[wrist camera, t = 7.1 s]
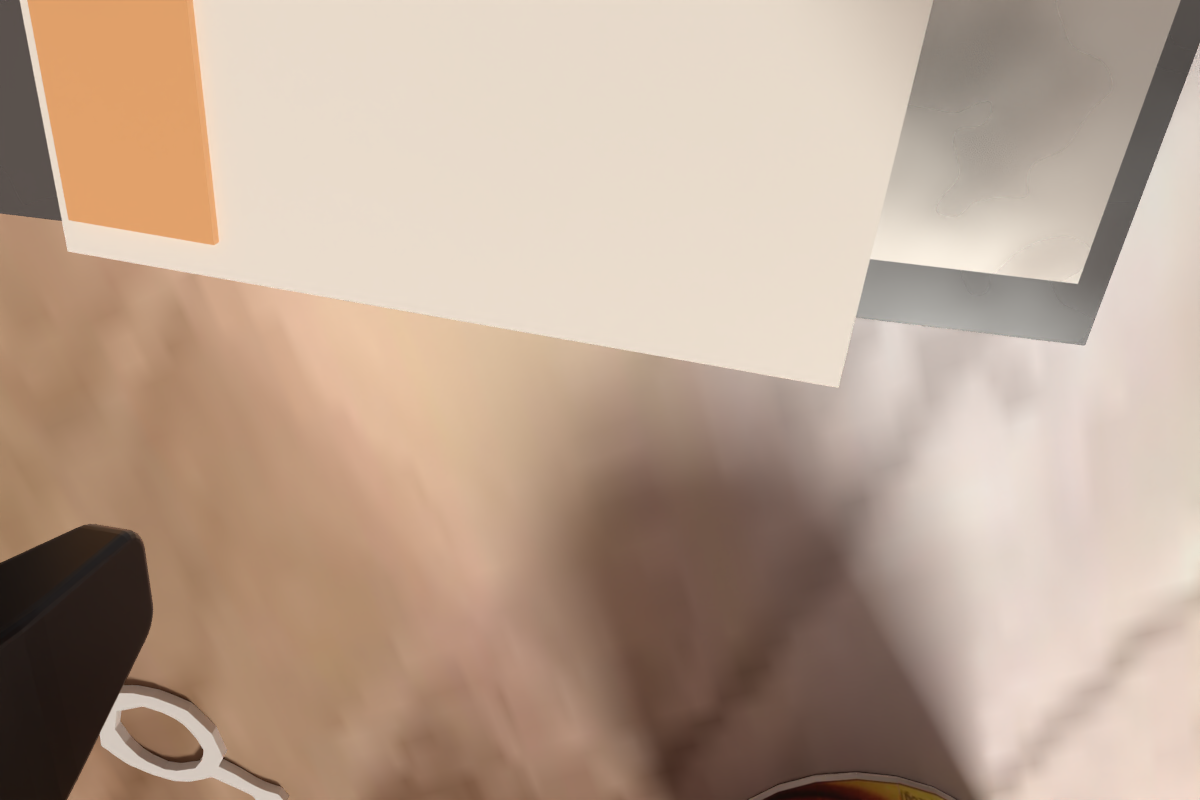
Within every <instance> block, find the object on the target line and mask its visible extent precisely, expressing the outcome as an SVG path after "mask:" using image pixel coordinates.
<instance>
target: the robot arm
mask: <svg viewBox="0 0 1200 800" xmlns="http://www.w3.org/2000/svg"><path fill="white" fill-rule="evenodd" d="M152 617H153V602H152V595H151V588H150V581H149V574H148V568H147V561H146V554H145V548H144V544H143V541H142V539H141V537H140V536H139V535H138V534H137V533H135V532H133V531H131V530H127V529H121V528H115V527H109V526H103V525H97V524H88V525H83V526H81V527H78V528H76V529H73V530H71V531H69V532H67V533H65V534H62V535H60V536H58V537H56V538H54V539H52V540H49V541H47V542H45V543H43V544H41V545H38V546H36V547H34V548H32V549H30V550H28V551H25V552H23V553H21V554H19V555H17V556H14V557H12V558H10V559H8V560H6V561H4V562H1V563H0V800H67V798H68V796H69V794H70V793H71V791H72V789H73V787H74V785H75V783H76V781H77V779H78V777H79V775H80V773H81V771H82V769H83V767H84V765H85V763H86V761H87V759H88V757H89V755H90V753H91V751H92V749H93V746H94V744H95V742H96V740H97V738H98V736H99V734H100V732H101V730H102V728H103V726H104V724H105V722H106V720H107V718H108V716H109V714H110V712H111V710H112V708H113V705H114V703H115V701H116V699H117V697H118V695H119V693H120V691H121V689H122V687H123V685H124V683H125V681H126V679H127V677H128V675H129V673H130V671H131V669H132V666H133V664H134V662H135V660H136V658H137V656H138V654H139V652H140V650H141V648H142V646H143V644H144V642H145V640H146V638H147V635H148V633H149V630H150V627H151V622H152Z"/></svg>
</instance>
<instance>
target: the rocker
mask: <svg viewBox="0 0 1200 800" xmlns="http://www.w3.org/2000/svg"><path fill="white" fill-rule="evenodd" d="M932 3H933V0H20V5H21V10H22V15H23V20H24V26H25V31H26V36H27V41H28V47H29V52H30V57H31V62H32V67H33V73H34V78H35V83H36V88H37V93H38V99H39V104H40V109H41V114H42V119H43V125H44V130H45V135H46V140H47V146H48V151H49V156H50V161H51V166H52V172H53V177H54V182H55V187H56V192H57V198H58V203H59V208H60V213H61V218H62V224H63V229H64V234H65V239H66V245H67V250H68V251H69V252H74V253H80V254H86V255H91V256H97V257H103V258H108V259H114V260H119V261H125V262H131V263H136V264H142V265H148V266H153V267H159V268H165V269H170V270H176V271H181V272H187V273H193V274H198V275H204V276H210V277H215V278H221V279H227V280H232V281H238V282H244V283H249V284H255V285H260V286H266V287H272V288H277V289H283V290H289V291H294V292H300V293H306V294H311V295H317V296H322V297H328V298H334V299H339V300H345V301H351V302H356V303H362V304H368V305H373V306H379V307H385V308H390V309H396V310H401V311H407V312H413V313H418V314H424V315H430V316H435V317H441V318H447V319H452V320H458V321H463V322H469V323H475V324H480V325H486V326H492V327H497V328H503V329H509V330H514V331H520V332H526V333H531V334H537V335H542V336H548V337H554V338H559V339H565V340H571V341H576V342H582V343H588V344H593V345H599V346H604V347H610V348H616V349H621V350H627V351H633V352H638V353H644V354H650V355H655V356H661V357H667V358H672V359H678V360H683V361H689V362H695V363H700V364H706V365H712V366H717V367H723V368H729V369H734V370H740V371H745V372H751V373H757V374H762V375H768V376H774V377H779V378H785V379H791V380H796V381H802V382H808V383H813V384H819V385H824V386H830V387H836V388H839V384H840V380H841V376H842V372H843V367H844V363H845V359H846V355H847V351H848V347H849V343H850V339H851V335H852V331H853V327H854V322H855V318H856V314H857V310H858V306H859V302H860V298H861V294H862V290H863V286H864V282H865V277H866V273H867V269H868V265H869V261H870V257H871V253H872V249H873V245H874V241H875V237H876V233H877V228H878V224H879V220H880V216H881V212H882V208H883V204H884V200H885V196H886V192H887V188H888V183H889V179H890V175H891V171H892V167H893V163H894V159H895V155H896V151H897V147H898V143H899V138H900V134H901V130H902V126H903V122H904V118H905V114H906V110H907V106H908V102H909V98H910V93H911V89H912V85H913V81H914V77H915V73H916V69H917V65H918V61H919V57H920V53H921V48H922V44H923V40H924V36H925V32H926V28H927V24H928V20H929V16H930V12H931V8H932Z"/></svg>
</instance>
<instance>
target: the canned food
mask: <svg viewBox="0 0 1200 800" xmlns="http://www.w3.org/2000/svg"><path fill="white" fill-rule="evenodd" d="M749 800H956V799H954V798H952V797H950V796H949V795H947V794H945V793H943V792H941V791H940V790H938V789H936V788H934V787H931V786H928V785H924V784H921V783H917V782H914V781H911V780H907V779H904V778H901V777H897V776H889V775H879V774H869V773H859V772H851V773H838V774H824V775H814V776H810V777H806V778H803V779H799V780H795V781H791V782H787V783H784V784H780V785H777V786H775V787H773V788H771V789H769V790H767V791H765V792H763V793H761V794H759V795H757V796H755V797H753V798H751V799H749Z"/></svg>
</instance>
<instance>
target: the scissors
mask: <svg viewBox="0 0 1200 800" xmlns="http://www.w3.org/2000/svg"><path fill="white" fill-rule="evenodd" d="M142 706H144V707H147V708H150V709H153V710H156V711H159V712H162V713H164V714H166V715H168V716H171V717H173V718H175V719H176V720H178V721H179V722H181V723H182V724H183V725H185V726H186V728H187V729H188V730H189V731H190V732H191V733H192V734H193V735H194V736H195V737H196V739H197V740H198V742H199V743H200V745H201V747H202V748H203V750H204V752H203V757H202V758H201V759H200V760H199V761H192V762H186V763H177V762H170V761H167V760H165V759H163V758H160V757H158V756H156V755H154V754H152V753H150V752H149V751H147V750H146V749H144V748H143V747H142V746H141V745H140V744H139V743H137V742H136V741H135V740H134V739H133V738H132V737H131V736H130V734H129V733H128V732H127V730H126V729H125V727H124V726H123V724H122V723H121V722H120V718H121V710H126V709H132V708H137V707H142ZM100 739H101V746H103V747H104V748H105V749H107V750H108V751H110V752H111V753H112V754H114V755H115V756H116V757H118V758H119V759H121V760H122V761H124V762H125V763H127V764H129V765H131V766H133V767H136V768H138V769H140V770H143V771H145V772H147V773H150V774H152V775H156V776H159V777H163V778H166V779H169V780H173V781H190V782H191V781H196V780H201V779H205V778H210V777H213V778H215V779H217V780H220V781H222V782H224V783H226V784H229V785H231V786H233V787H235V788H237V789H240V790H242V791H244V792H246V793H248V794H250V795H252V796H253V797H254V798H255V799H256V800H288V797H289V795H288V794H287V793H286V791H285V790H284V789H283V788H282V787H280V786H277V785H274V784H271V783H268V782H265V781H263V780H261V779H259V778H257V777H255V776H253V775H252V774H250V773H249V772H247V771H245V770H244V769H242V768H240V767H238V766H236V765H234V764H232V763H230V762H228V761H226V760H224V759H223V757H224V755H225V753H226V751H227V749H226V747H225V744H224V742H223V740H222V738H221V735H220V733H219V731H218V729H217V727H216V725H215V724H213V723H212V722H211V721H210V720H209V719H208V718H207V717H206V716H205V715H204V714H203V713H202V712H201V711H200V710H199V709H198V708H197V707H196V706H195V705H194V704H193V703H191V702H189V701H187V700H184V699H182V698H180V697H178V696H175V695H172V694H170V693H167V692H164V691H162V690H159V689H155V688H150V687H145V686H140V685H123V687H122V689H121V691H120V693H119V695H118V697H117V699H116V701H115V703H114V705H113V708H112V710H111V712H110V714H109V716H108V718H107V720H106V722H105V724H104V726H103V728H102V730H101V732H100Z"/></svg>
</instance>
